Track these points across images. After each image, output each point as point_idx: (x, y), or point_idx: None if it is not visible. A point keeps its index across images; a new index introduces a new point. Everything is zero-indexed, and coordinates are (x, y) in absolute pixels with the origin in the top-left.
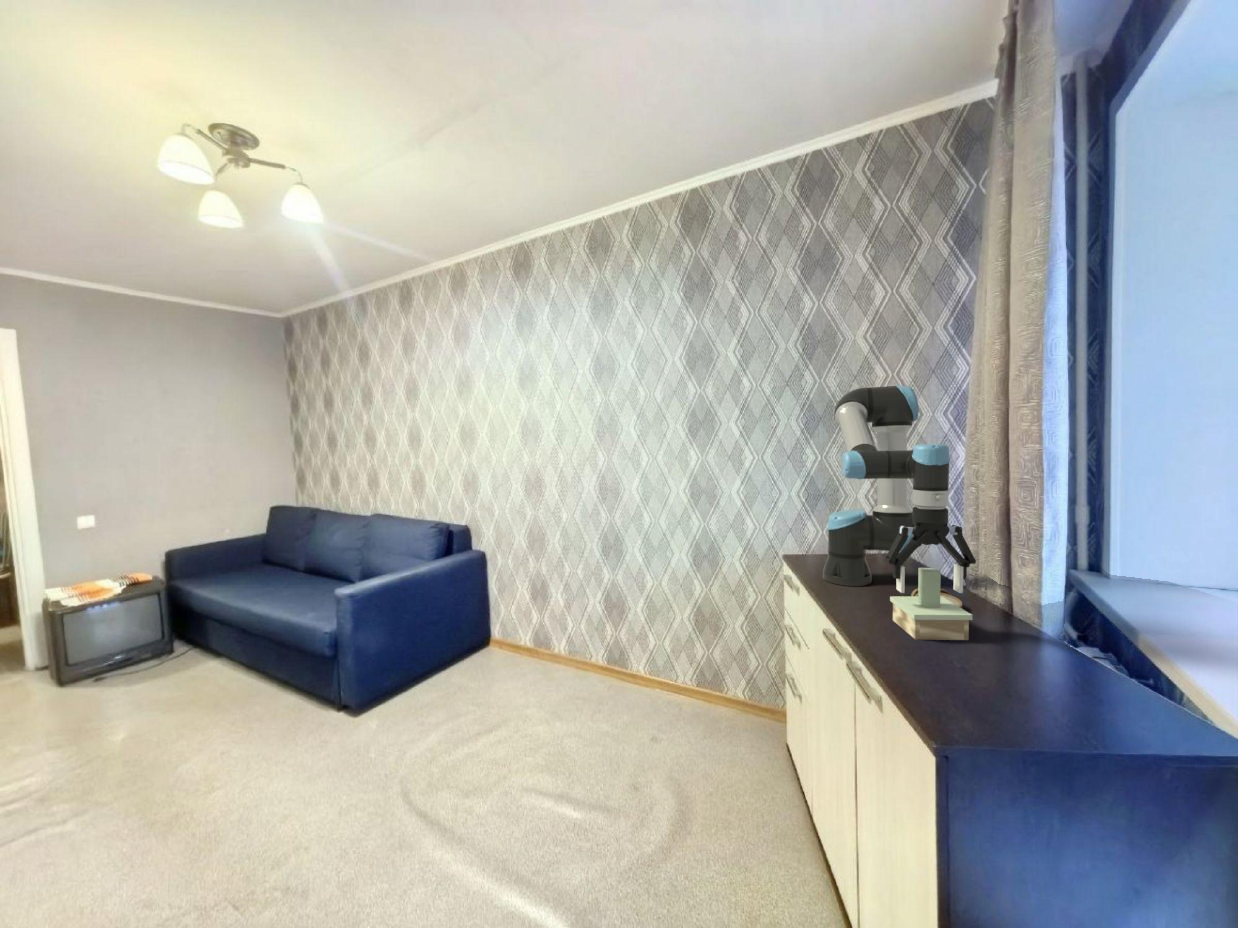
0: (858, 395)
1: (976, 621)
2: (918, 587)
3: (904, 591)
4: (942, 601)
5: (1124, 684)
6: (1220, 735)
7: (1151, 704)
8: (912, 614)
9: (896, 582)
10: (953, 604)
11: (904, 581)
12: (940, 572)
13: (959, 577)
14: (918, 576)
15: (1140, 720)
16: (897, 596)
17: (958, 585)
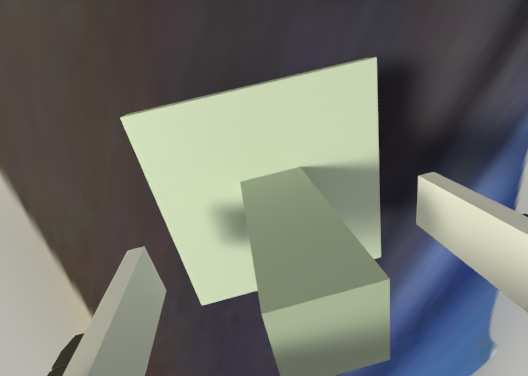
0: None
1: (445, 10)
2: (246, 220)
3: (164, 295)
4: (345, 138)
5: (489, 290)
6: (477, 366)
7: (471, 331)
8: (198, 293)
9: (112, 280)
10: (372, 167)
11: (151, 346)
12: (385, 354)
13: (483, 274)
14: (253, 261)
15: (425, 366)
16: (158, 110)
17: (441, 234)
